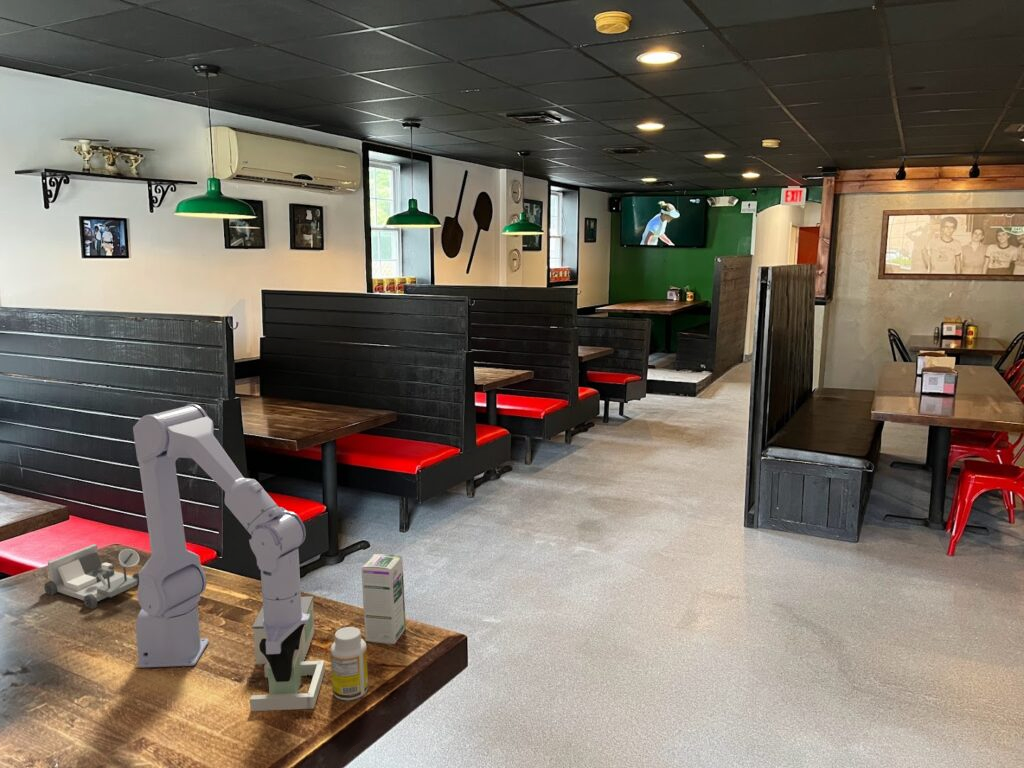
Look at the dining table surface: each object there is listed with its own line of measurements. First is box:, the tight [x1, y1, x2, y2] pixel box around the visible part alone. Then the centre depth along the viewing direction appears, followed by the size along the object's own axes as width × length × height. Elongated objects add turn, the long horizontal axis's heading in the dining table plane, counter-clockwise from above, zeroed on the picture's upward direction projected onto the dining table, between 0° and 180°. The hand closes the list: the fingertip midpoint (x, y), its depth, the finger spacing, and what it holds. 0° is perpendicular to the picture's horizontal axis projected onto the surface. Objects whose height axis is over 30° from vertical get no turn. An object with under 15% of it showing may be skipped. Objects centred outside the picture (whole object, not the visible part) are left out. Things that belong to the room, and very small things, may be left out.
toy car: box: [43, 543, 140, 610], centre depth 154 cm, size 18×10×12 cm
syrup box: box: [360, 553, 407, 645], centre depth 136 cm, size 6×6×14 cm
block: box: [267, 649, 302, 695], centre depth 120 cm, size 4×4×6 cm
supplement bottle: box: [330, 626, 369, 701], centre depth 120 cm, size 6×6×10 cm
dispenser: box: [251, 596, 315, 665], centre depth 133 cm, size 8×10×7 cm
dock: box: [249, 660, 326, 712], centre depth 121 cm, size 10×10×2 cm
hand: (286, 671), depth 120 cm, fingers open, 4 cm apart
